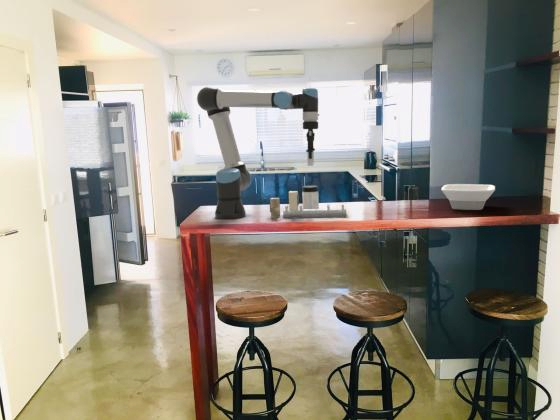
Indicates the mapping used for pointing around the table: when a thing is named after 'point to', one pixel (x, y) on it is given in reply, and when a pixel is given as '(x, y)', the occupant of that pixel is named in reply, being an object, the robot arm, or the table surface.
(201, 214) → the table surface
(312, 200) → the jar
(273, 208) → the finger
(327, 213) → the rail
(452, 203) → the bowl
